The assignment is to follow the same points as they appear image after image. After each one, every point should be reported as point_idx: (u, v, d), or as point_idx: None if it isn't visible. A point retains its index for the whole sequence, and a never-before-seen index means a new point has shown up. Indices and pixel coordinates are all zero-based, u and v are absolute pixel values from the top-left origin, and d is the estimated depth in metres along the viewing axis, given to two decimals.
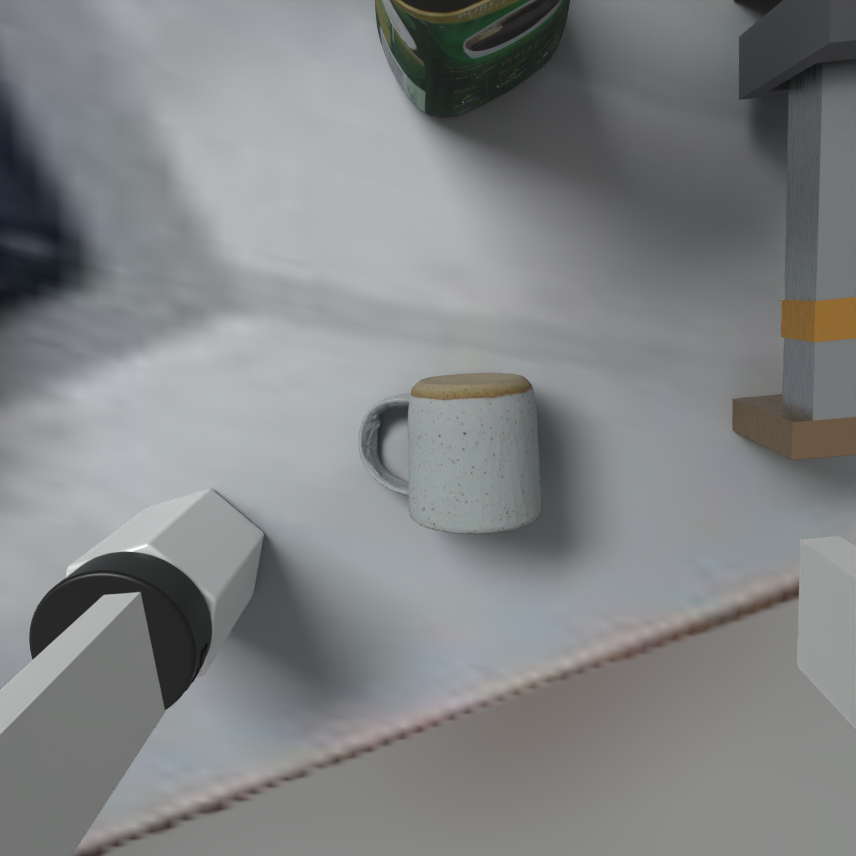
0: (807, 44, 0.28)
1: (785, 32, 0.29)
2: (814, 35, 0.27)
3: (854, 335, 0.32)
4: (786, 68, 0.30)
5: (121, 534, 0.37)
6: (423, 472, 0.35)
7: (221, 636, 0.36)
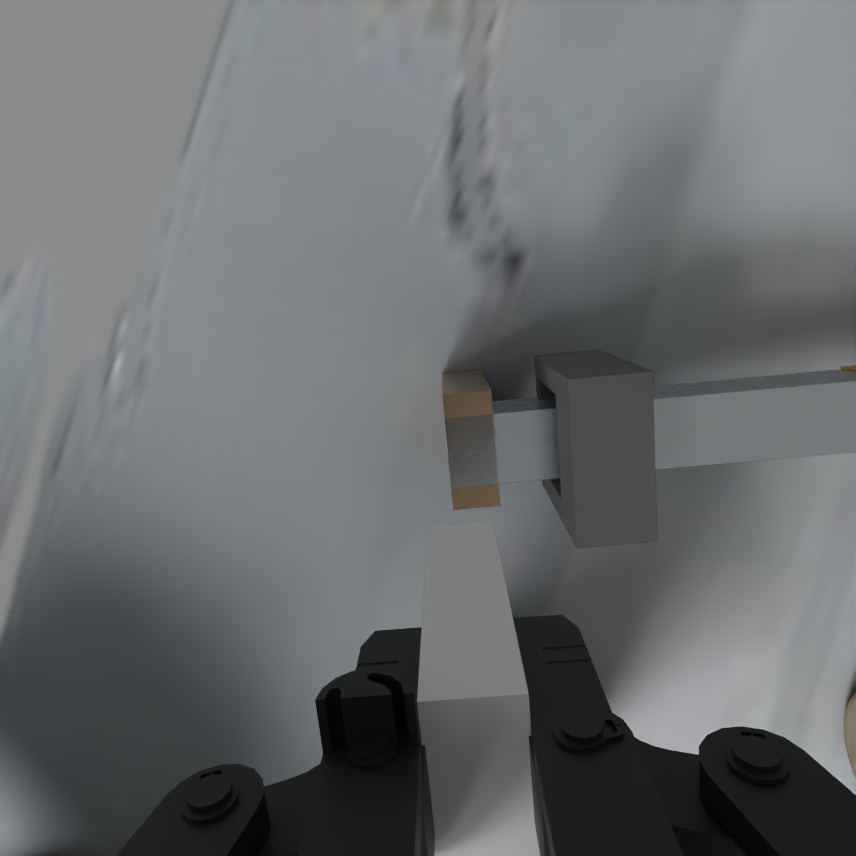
0: None
1: None
2: None
3: None
4: None
5: None
6: None
7: None
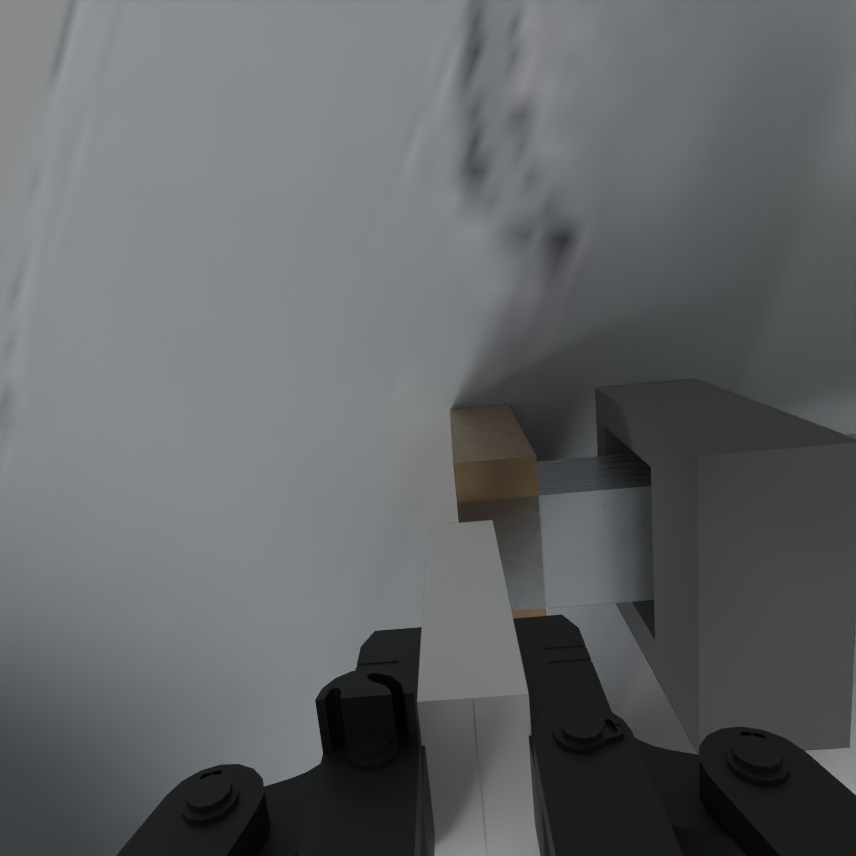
0: None
1: None
2: None
3: None
4: None
5: None
6: None
7: None
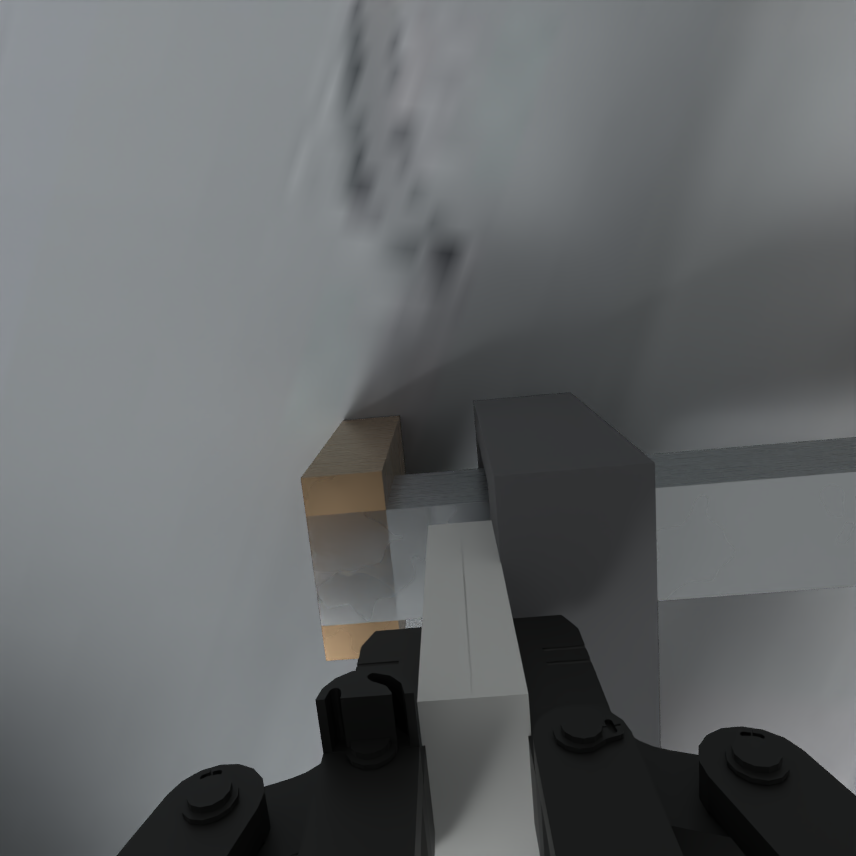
0: None
1: None
2: None
3: None
4: None
5: None
6: None
7: None
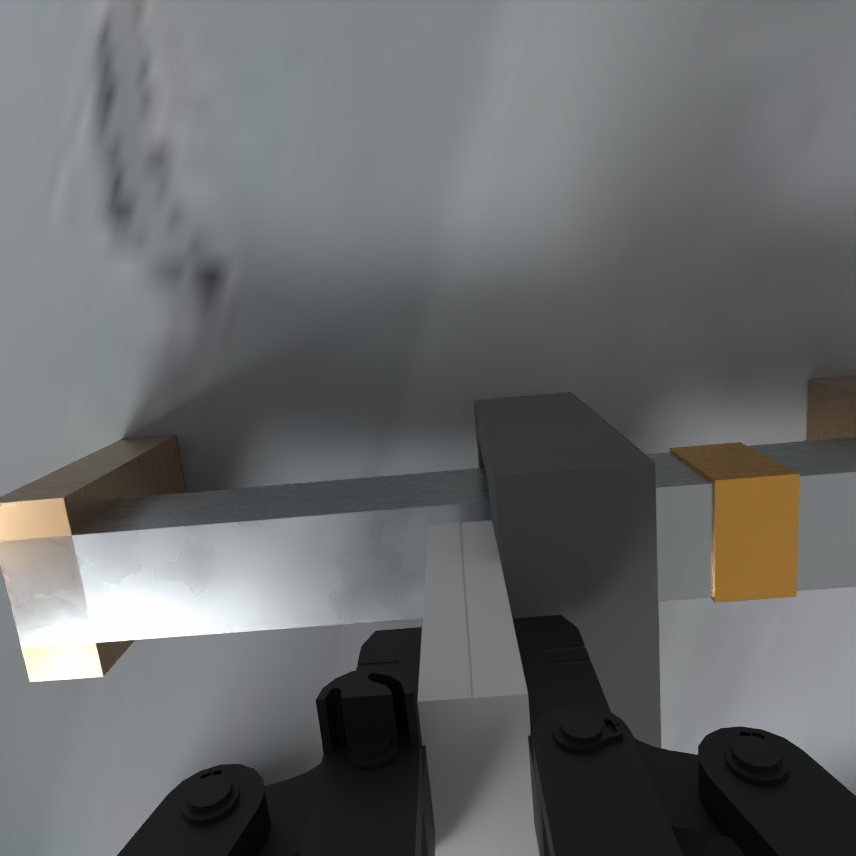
0: None
1: None
2: None
3: (792, 524, 0.16)
4: None
5: None
6: None
7: None
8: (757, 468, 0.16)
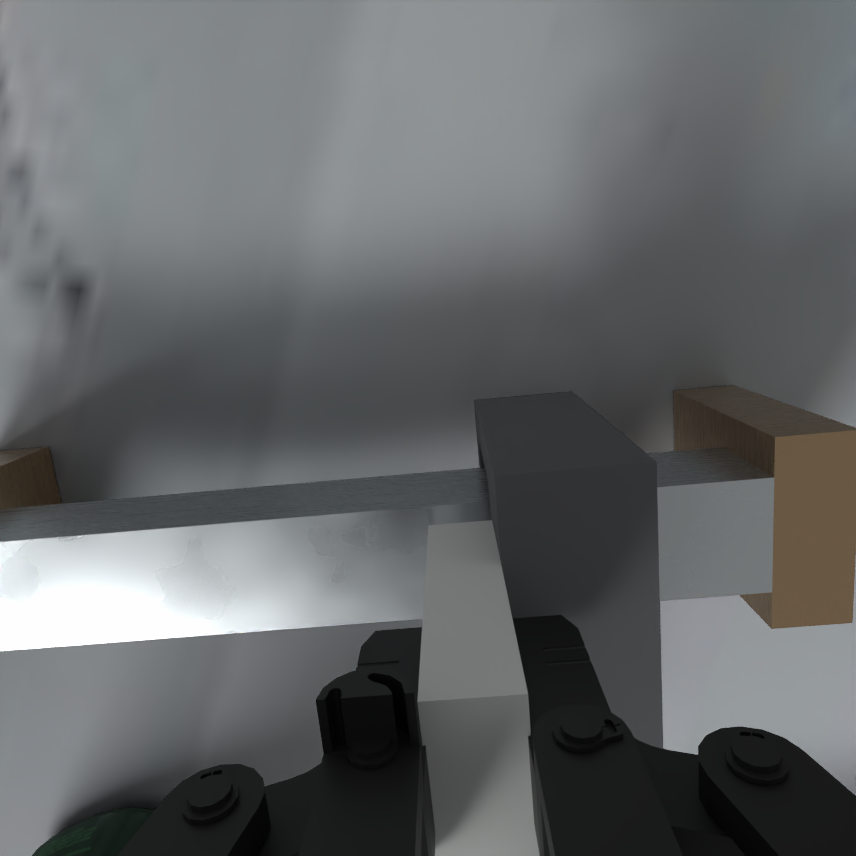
0: None
1: None
2: None
3: None
4: None
5: None
6: None
7: None
8: None
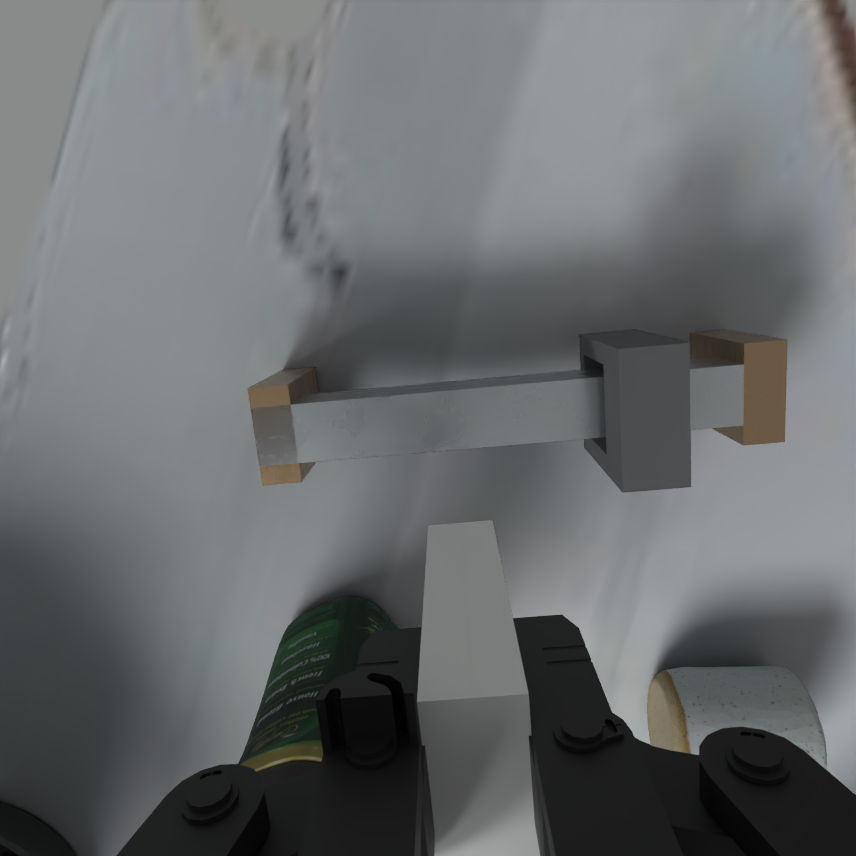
0: None
1: None
2: None
3: None
4: None
5: None
6: None
7: None
8: None
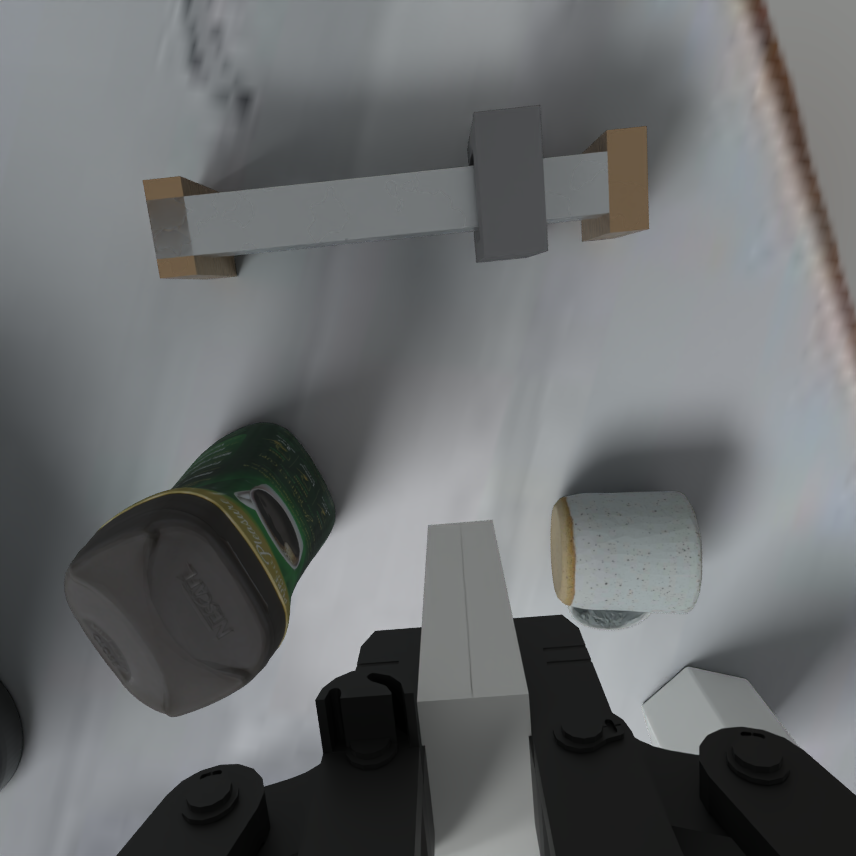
0: (533, 253, 0.32)
1: None
2: (531, 253, 0.32)
3: None
4: None
5: None
6: (638, 609, 0.40)
7: None
8: None
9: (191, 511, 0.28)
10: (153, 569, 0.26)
